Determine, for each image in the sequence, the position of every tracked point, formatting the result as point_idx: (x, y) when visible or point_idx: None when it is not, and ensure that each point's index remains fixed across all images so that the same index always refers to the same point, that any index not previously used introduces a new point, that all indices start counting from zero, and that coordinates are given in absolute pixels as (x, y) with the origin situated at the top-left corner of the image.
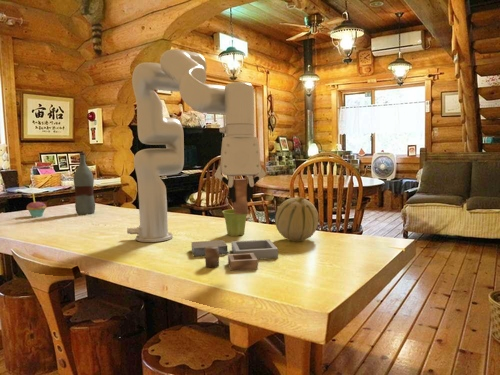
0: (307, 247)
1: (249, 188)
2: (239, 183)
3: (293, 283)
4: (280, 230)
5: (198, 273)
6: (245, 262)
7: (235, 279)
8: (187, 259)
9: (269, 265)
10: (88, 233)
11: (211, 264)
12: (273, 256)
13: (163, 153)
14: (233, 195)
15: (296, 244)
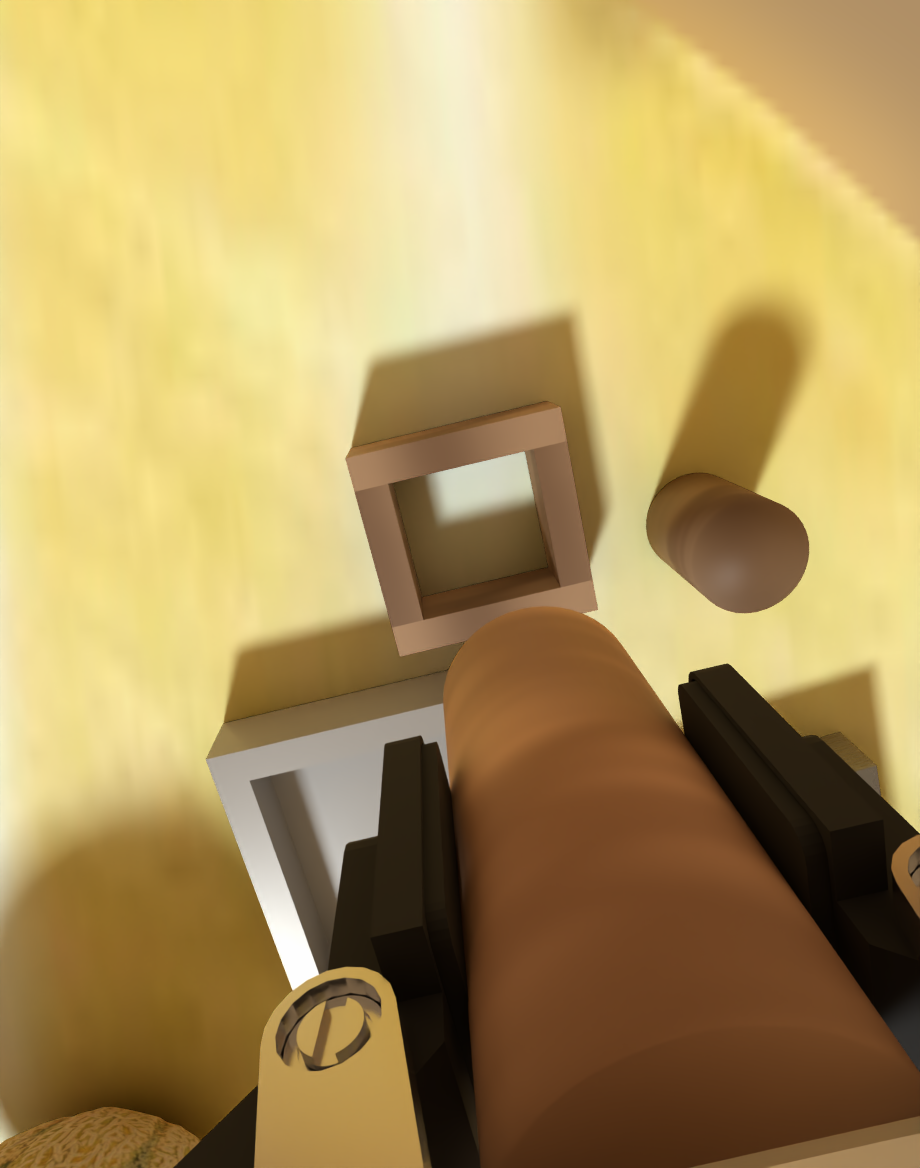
0: (29, 991)
1: (401, 906)
2: (717, 938)
3: (35, 84)
4: None
5: (781, 335)
6: (442, 434)
7: (496, 187)
8: (881, 672)
9: (270, 544)
10: None
11: (705, 476)
12: (254, 722)
13: None
14: (753, 722)
15: (120, 1058)
